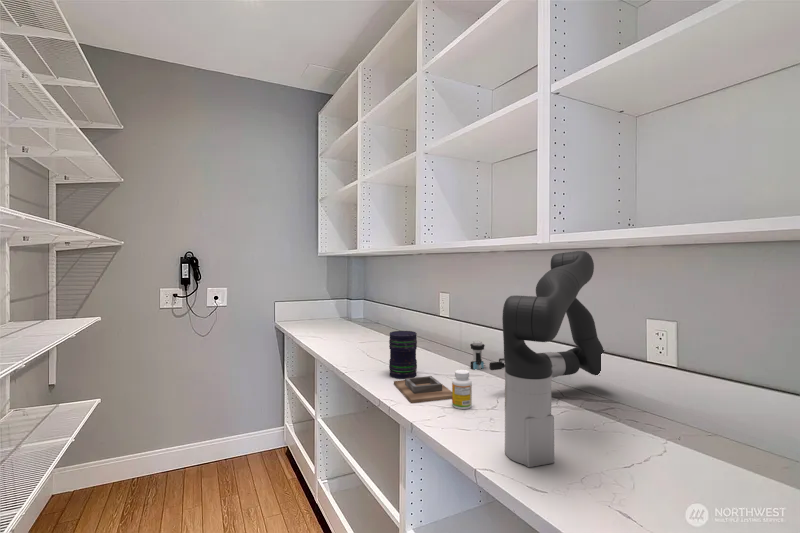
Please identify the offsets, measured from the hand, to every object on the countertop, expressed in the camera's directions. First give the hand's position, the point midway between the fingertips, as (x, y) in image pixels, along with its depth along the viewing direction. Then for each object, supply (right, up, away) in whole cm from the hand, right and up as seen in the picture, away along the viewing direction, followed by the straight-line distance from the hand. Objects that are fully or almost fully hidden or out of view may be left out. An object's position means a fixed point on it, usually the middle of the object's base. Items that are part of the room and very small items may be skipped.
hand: (497, 370), depth 112 cm
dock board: (-21, -9, +9) cm, 25 cm away
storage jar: (-27, -9, +26) cm, 39 cm away
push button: (+2, -9, +35) cm, 36 cm away
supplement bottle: (-11, -9, -3) cm, 15 cm away
